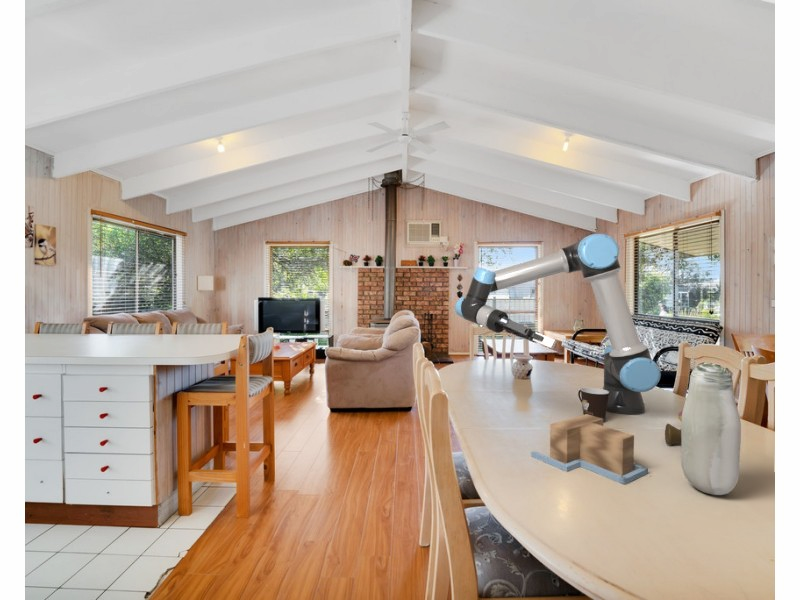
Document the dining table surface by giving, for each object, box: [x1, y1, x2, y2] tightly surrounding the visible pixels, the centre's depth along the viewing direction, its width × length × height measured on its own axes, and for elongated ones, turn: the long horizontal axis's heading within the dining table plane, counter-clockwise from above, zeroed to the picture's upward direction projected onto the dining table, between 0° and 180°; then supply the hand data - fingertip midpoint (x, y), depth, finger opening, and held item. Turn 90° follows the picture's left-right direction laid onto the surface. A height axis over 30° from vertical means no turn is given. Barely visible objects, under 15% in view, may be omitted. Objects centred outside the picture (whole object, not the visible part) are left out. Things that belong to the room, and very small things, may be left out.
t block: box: [549, 414, 635, 476], centre depth 104 cm, size 16×16×9 cm
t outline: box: [530, 450, 649, 485], centre depth 104 cm, size 22×21×1 cm
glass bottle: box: [680, 363, 742, 496], centre depth 89 cm, size 10×10×28 cm
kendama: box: [664, 423, 682, 446], centre depth 111 cm, size 6×10×20 cm
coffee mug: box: [577, 387, 609, 424], centre depth 138 cm, size 12×9×10 cm
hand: (553, 344), depth 122 cm, fingers closed
